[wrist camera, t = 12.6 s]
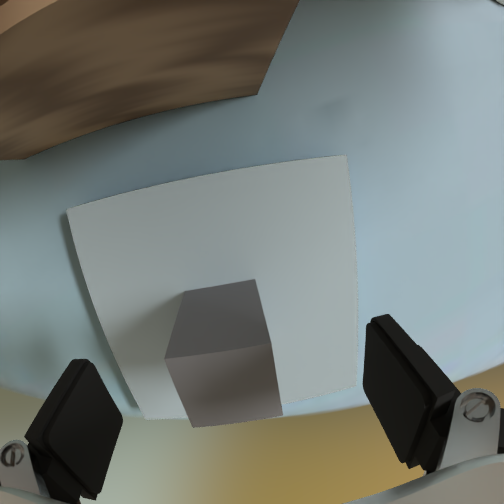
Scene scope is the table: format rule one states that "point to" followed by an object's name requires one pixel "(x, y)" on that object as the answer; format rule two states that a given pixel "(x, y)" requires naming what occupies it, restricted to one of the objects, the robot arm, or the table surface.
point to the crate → (125, 61)
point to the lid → (227, 288)
